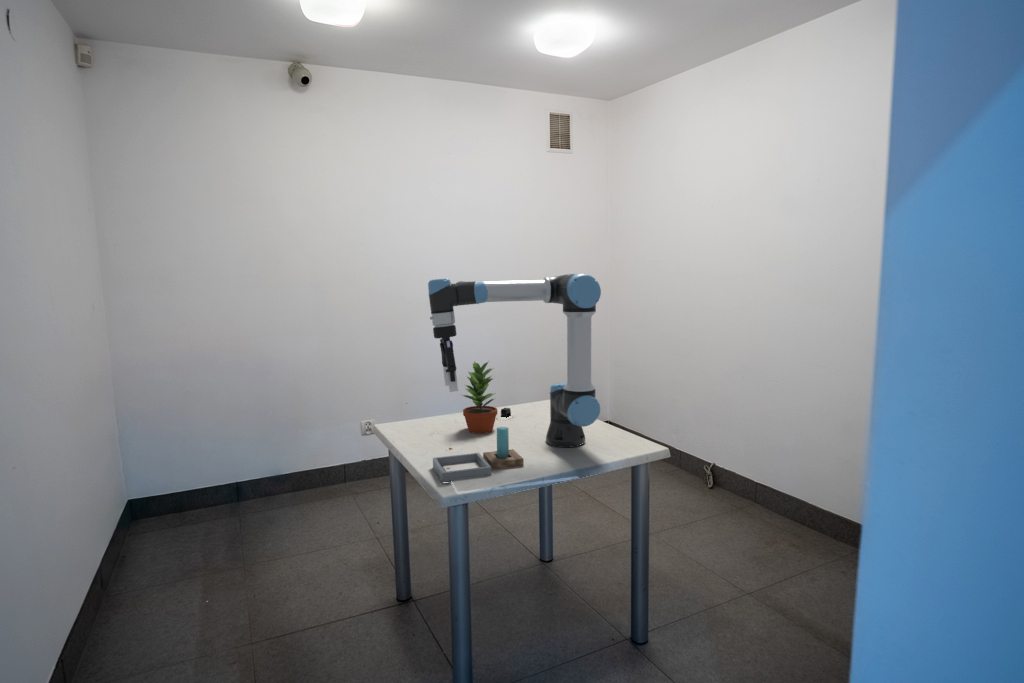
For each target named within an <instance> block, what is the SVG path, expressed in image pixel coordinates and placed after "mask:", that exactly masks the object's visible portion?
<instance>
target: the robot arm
mask: <svg viewBox="0 0 1024 683" xmlns="http://www.w3.org/2000/svg"><path fill="white" fill-rule="evenodd" d="M427 285H428V288H427V289H428V299H429V307H430V313H431V316H430V318H429V320H431V322H432V326H433V329H432V333H433V337H434V339H439V342H440V343H439V346H440V352H441V364H442V368H443V378H444V379H443V380H444V384H445V385H444V386H445V387H447V386H448V390H449V392H450V393H452V392H458V391H459V387H458V378H457V365H456V359H455V353H454V352H455V351H454V344H453V341H452V340H451V338H453V337H456V336H457V327H456V325H455V323H456V317H455V310H454V307H459V306H466V305H467V306H468V305H469V306H470V305H480V304H483V303H497V302H499V303H500V302H501V303H502V302H532V301H534V302H535V301H537V302H538V301H543V302H544V303H545V304H559V305H562V313H563V314H564V316H566V318H567V319H566V329H567V334H566V342H567V343H566V347H567V348H566V349H567V350H566V351H567V352H566V357H567V358H566V359H567V361H566V362H567V363H566V364H567V367H566V368H567V369H566V371H567V373H566V374H567V375H566V376H567V377H566V378H567V379H566V381H567V382H559V383H554V384H552V385H551V386H550V388H549V391H550V392H549V402H550V405H549V406H550V408H549V410H550V411H549V412H550V413H549V414H550V415H549V416H550V422H549V426H548V429H547V432H546V435H545V442H546V443H547V445H550V446H552V445H553V446H554V447H557V446H562V447H561V448H571V447H570V446H576V447H578V446H577V445H580V444H582V443H584V442H585V443H586V435H585V432H584V427H588V426H590V425H593V423H595V422H596V421H597V420H598V419H599V417H600V413H601V405H600V403H599V402H600V401H598V399H597V398H596V387H595V385H594V384H593V383H592V316H594V315H595V313H597V312H596V309H597V304H598V302H599V301H600V299H601V295H602V294H601V293H602V289H601V285H600V283H599V281H598V280H597V279H596V278H595V277H594V276H592V275H590V274H586V273H581V272H580V273H568V274H567V273H566V274H562V275H557V276H556V275H555V276H545V277H544V278H543V279H531V280H530V279H529V280H528V279H527V280H524V279H523V280H487V281H484V280H474V281H463V280H462V281H458V282H456V283H452V282H451V280H450V278H449V277H448V278H438V279H437V278H436V279H431V280H429V281H428V283H427ZM585 443H584V444H585ZM580 446H581V445H580Z"/></svg>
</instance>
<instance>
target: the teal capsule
mask: <svg viewBox="0 0 1024 683" xmlns="http://www.w3.org/2000/svg"><path fill="white" fill-rule="evenodd" d="M509 441H510V440H509V427H506V426H497V427H496V451H497V458H498V459H499V458H507V457H509V450H510V448H509V446H510V444H509V443H510V442H509Z"/></svg>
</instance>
